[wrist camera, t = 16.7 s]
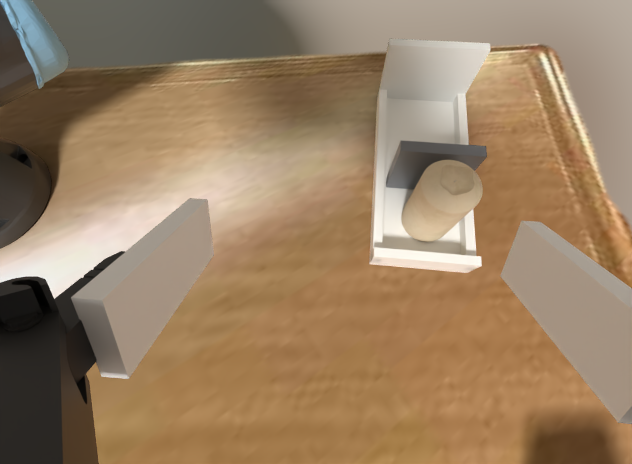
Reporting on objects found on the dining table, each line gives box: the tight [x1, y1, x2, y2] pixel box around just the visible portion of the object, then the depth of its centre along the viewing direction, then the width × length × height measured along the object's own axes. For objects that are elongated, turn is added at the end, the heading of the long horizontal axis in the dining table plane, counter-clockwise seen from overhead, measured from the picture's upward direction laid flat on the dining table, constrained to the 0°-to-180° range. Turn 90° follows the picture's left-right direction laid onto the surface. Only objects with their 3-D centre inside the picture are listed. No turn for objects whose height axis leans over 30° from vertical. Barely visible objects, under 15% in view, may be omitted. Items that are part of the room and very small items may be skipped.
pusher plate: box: [386, 140, 487, 189], centre depth 34 cm, size 8×1×8 cm, turn 84°
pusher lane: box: [369, 39, 490, 273], centre depth 35 cm, size 11×24×9 cm, turn 174°
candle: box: [401, 160, 483, 242], centre depth 32 cm, size 6×6×10 cm
